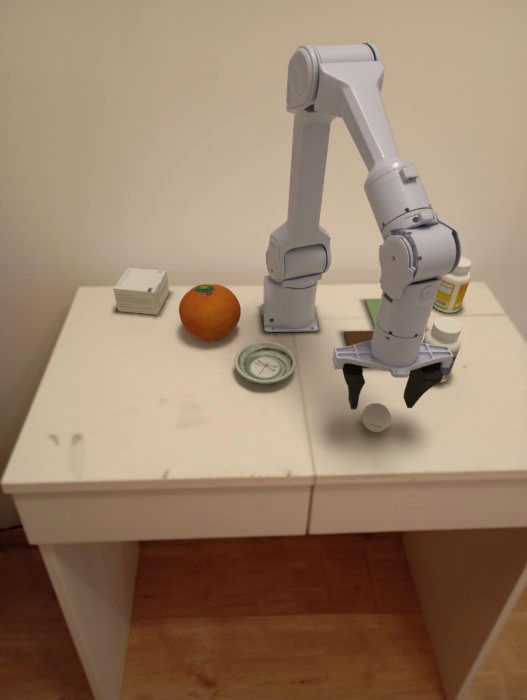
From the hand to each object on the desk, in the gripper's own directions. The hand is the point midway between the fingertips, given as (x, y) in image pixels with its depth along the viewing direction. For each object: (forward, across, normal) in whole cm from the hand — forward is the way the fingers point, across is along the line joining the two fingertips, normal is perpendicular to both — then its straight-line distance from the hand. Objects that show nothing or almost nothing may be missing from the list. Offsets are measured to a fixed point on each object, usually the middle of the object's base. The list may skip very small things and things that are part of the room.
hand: (380, 403), depth 64 cm
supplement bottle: (+5, +21, +30) cm, 37 cm away
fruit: (+5, -24, +23) cm, 34 cm away
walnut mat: (+5, +4, +17) cm, 18 cm away
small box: (+5, -37, +32) cm, 49 cm away
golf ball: (+5, 0, 0) cm, 5 cm away
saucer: (+5, -15, +12) cm, 20 cm away
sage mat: (+5, +10, +27) cm, 29 cm away
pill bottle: (+5, +12, +11) cm, 17 cm away
